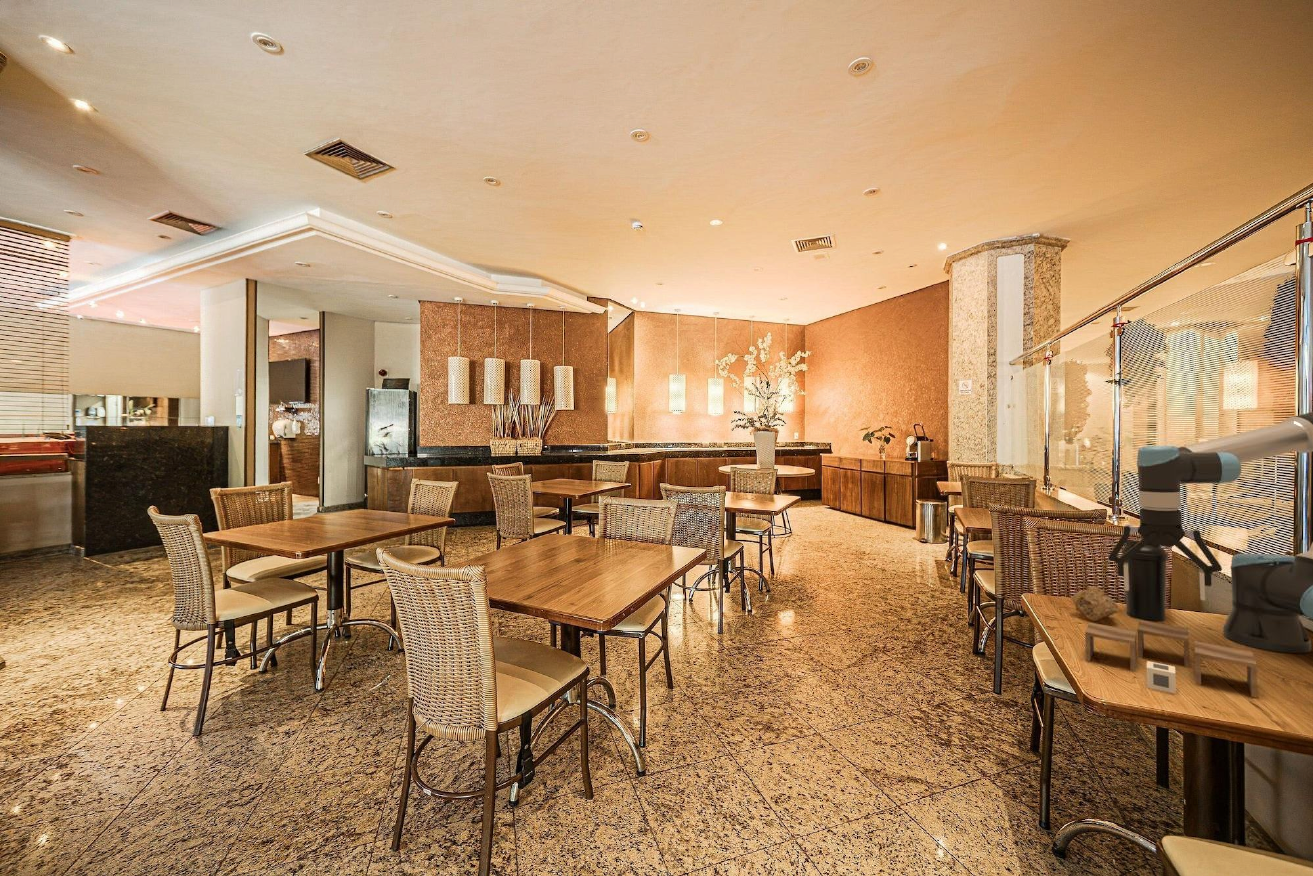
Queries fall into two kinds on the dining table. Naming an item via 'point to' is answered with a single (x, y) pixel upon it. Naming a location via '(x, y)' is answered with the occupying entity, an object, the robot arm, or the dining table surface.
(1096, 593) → the rock
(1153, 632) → the cover
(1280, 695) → the dining table surface
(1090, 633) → the cover
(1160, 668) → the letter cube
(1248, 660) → the cover
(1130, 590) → the water bottle
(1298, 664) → the dining table surface
